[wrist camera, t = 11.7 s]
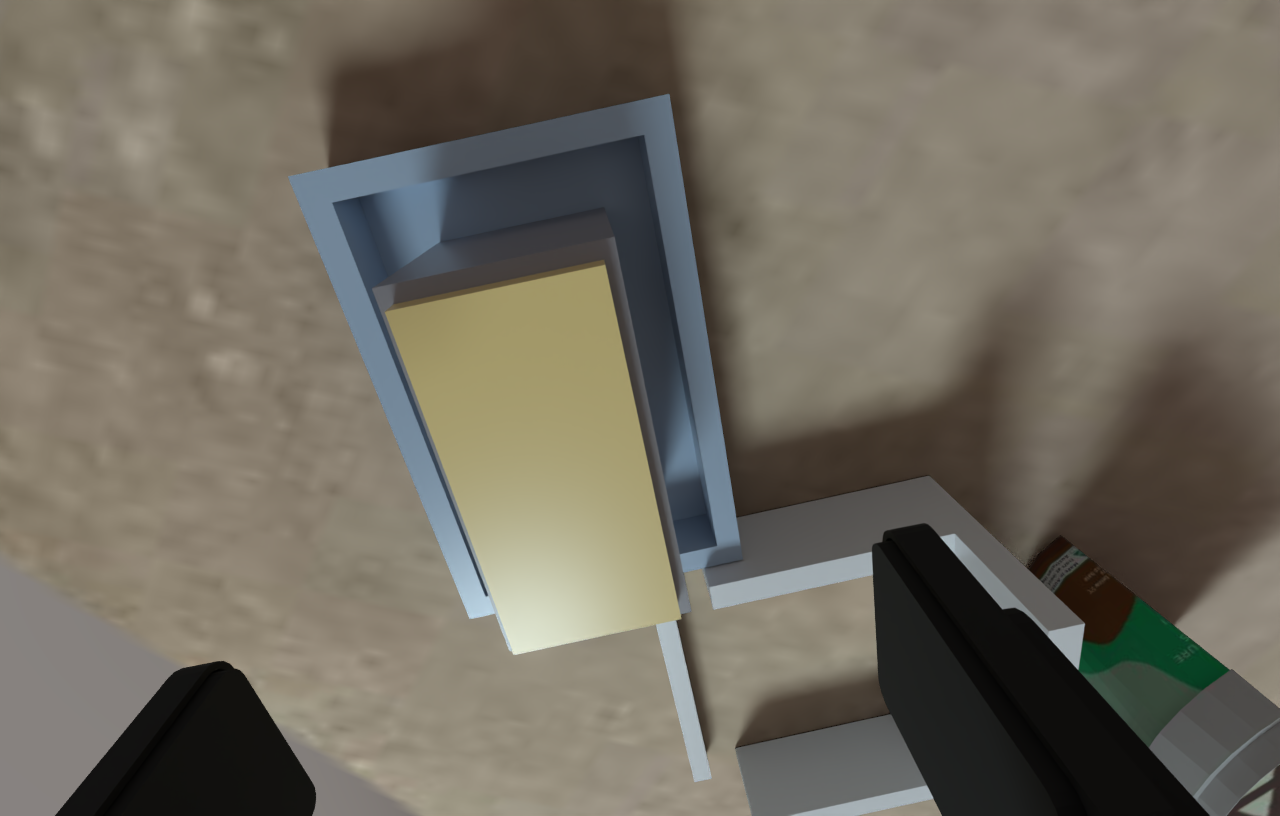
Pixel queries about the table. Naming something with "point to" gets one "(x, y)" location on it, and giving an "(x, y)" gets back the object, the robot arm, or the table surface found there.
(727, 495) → the tray
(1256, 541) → the table surface
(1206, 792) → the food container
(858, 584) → the table surface
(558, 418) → the yellow-topped block
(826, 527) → the bay
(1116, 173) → the table surface
